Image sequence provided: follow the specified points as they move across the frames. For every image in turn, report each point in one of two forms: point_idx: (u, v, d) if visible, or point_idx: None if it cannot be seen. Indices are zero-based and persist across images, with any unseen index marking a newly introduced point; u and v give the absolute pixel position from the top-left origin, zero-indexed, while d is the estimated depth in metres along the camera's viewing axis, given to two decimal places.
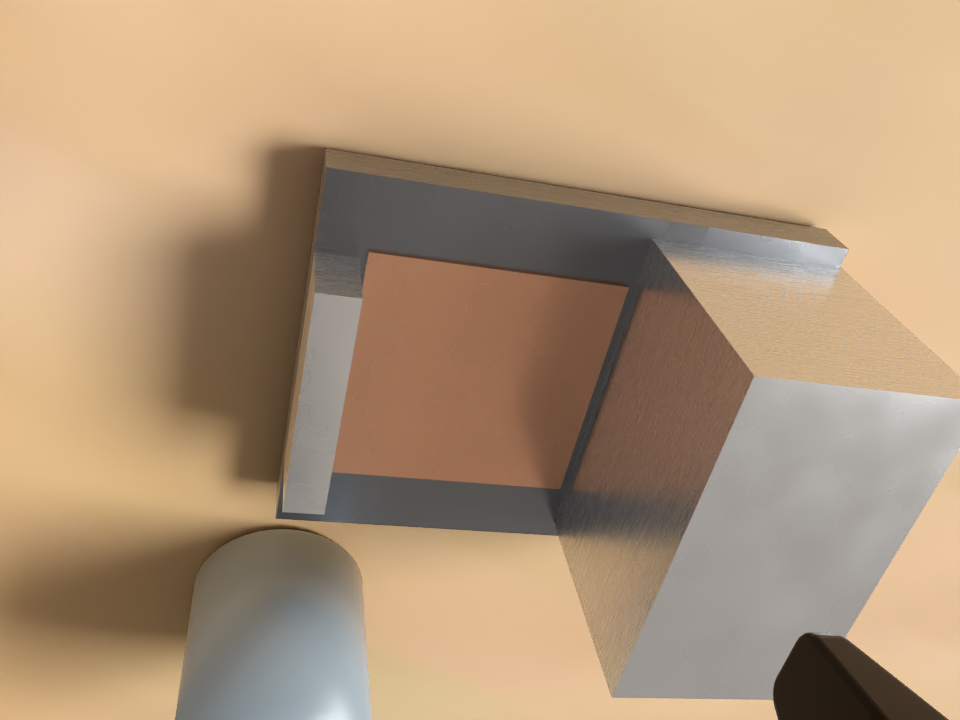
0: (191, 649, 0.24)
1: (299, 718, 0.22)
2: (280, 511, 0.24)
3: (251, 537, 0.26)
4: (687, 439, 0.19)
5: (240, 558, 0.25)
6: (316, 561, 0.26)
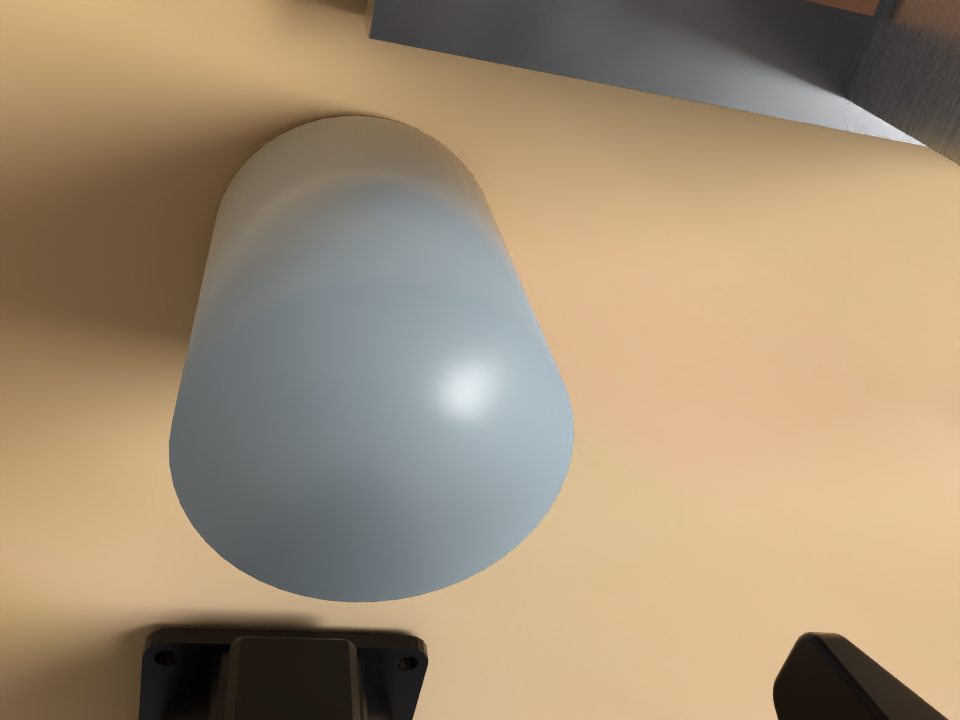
0: (213, 265, 0.13)
1: (442, 326, 0.10)
2: (378, 21, 0.13)
3: (316, 124, 0.15)
4: None
5: (298, 144, 0.14)
6: (433, 156, 0.14)
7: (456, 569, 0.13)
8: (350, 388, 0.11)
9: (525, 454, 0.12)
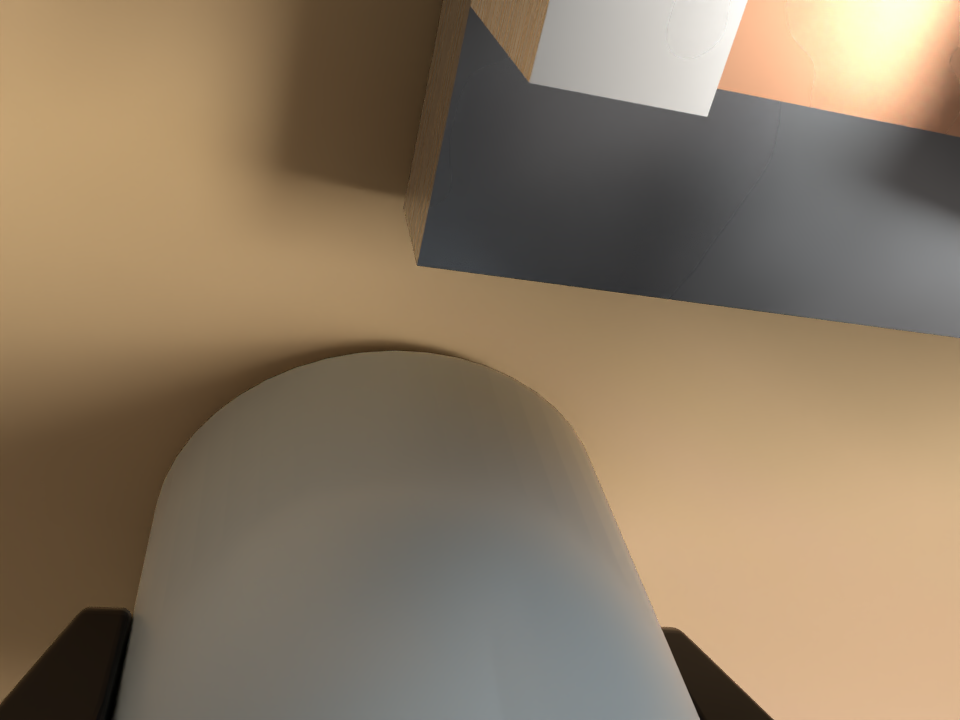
0: (126, 716, 0.07)
1: None
2: (434, 238, 0.07)
3: (319, 370, 0.09)
4: None
5: (290, 423, 0.08)
6: (519, 435, 0.08)
7: None
8: None
9: None
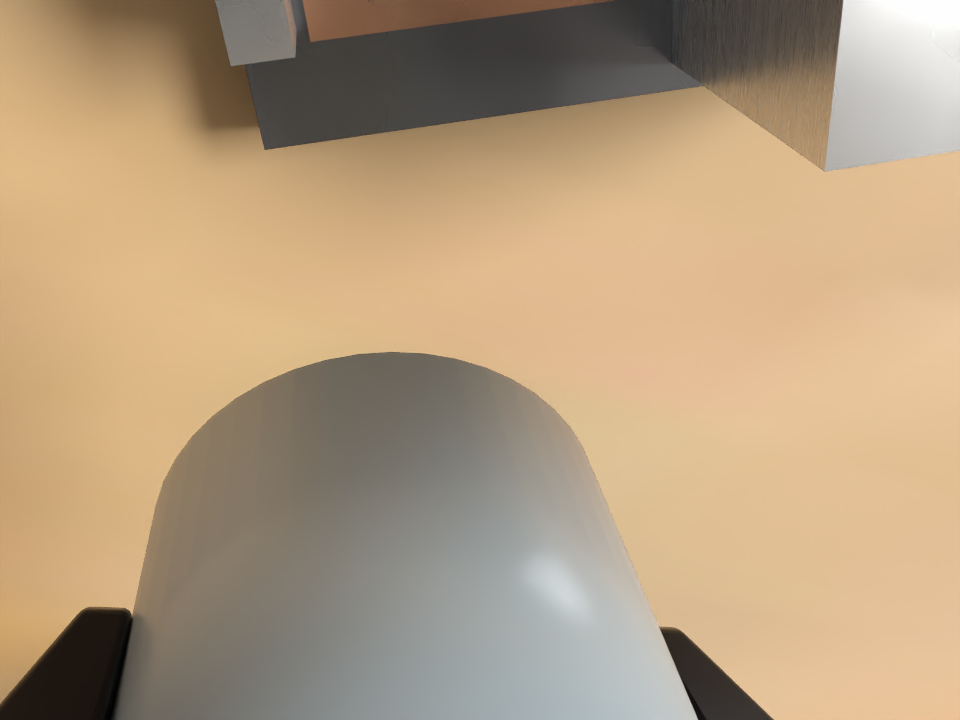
0: (124, 719, 0.07)
1: None
2: (266, 135, 0.17)
3: (317, 372, 0.09)
4: None
5: (287, 425, 0.08)
6: (517, 436, 0.08)
7: None
8: None
9: None
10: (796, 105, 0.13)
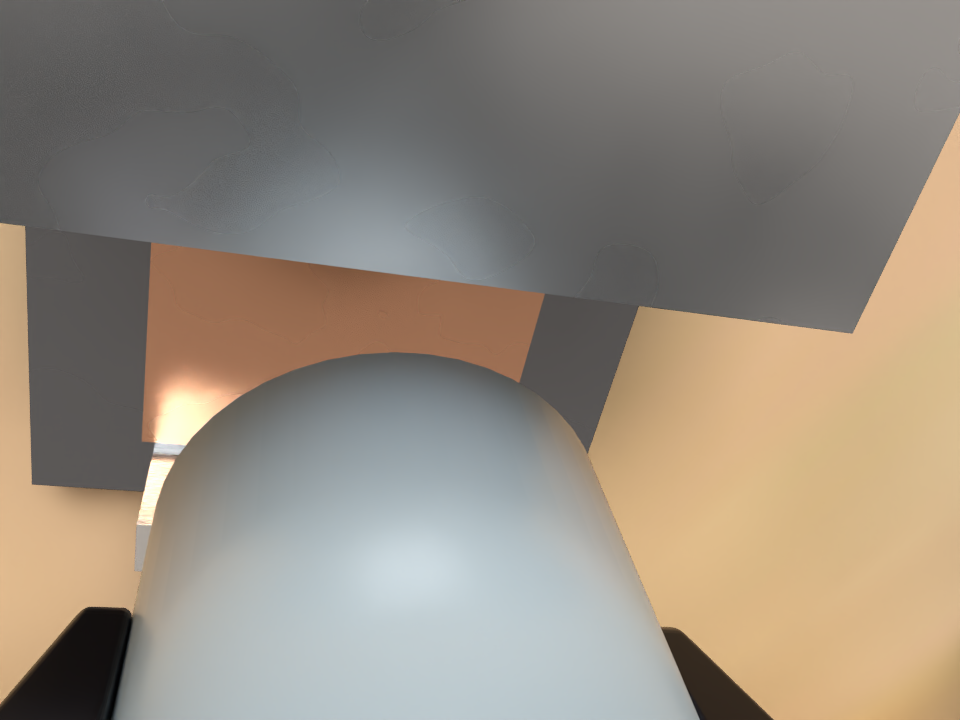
0: None
1: None
2: None
3: (319, 372, 0.09)
4: None
5: (289, 425, 0.08)
6: (520, 437, 0.08)
7: None
8: None
9: None
10: None
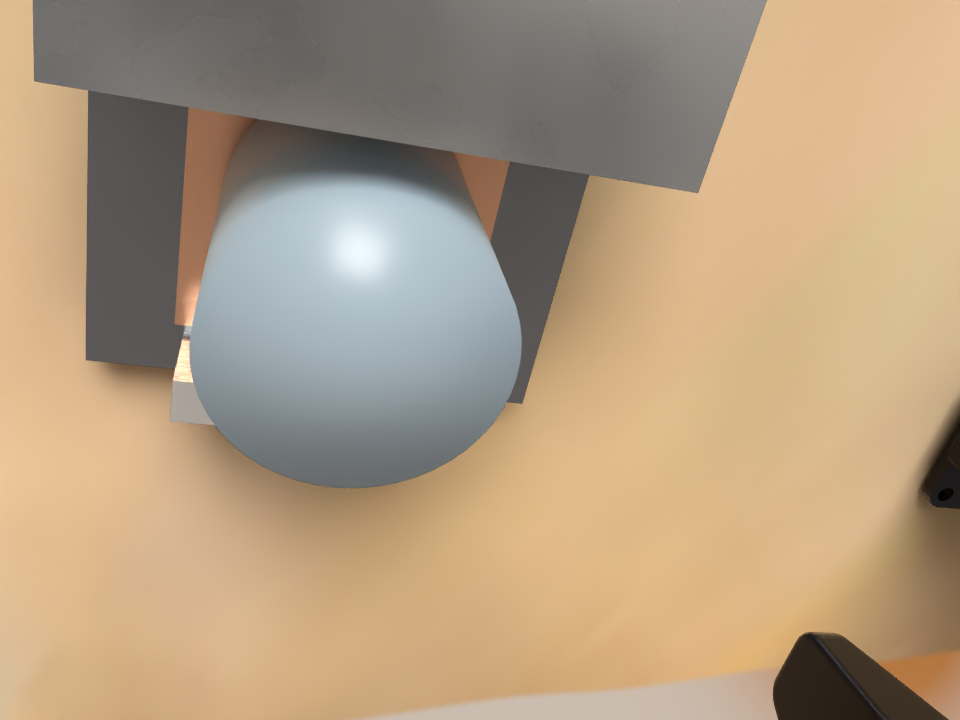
0: (223, 207, 0.15)
1: (410, 244, 0.13)
2: (513, 399, 0.22)
3: None
4: None
5: None
6: None
7: (426, 460, 0.15)
8: (336, 296, 0.13)
9: (480, 358, 0.14)
10: None
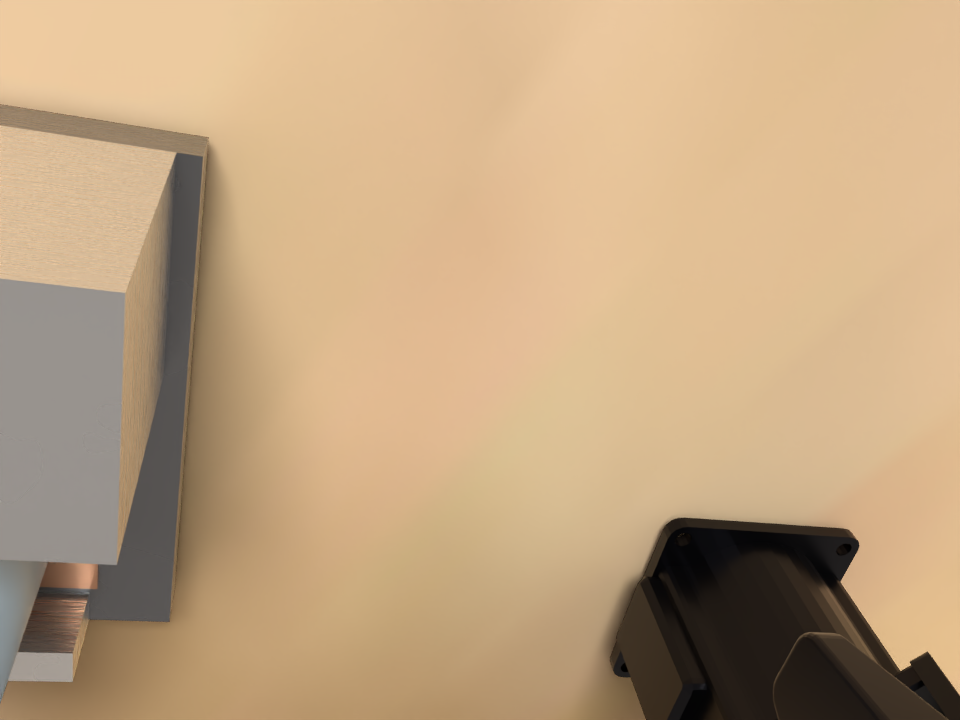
0: None
1: None
2: (159, 618, 0.24)
3: None
4: None
5: None
6: None
7: None
8: None
9: None
10: None
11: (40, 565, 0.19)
